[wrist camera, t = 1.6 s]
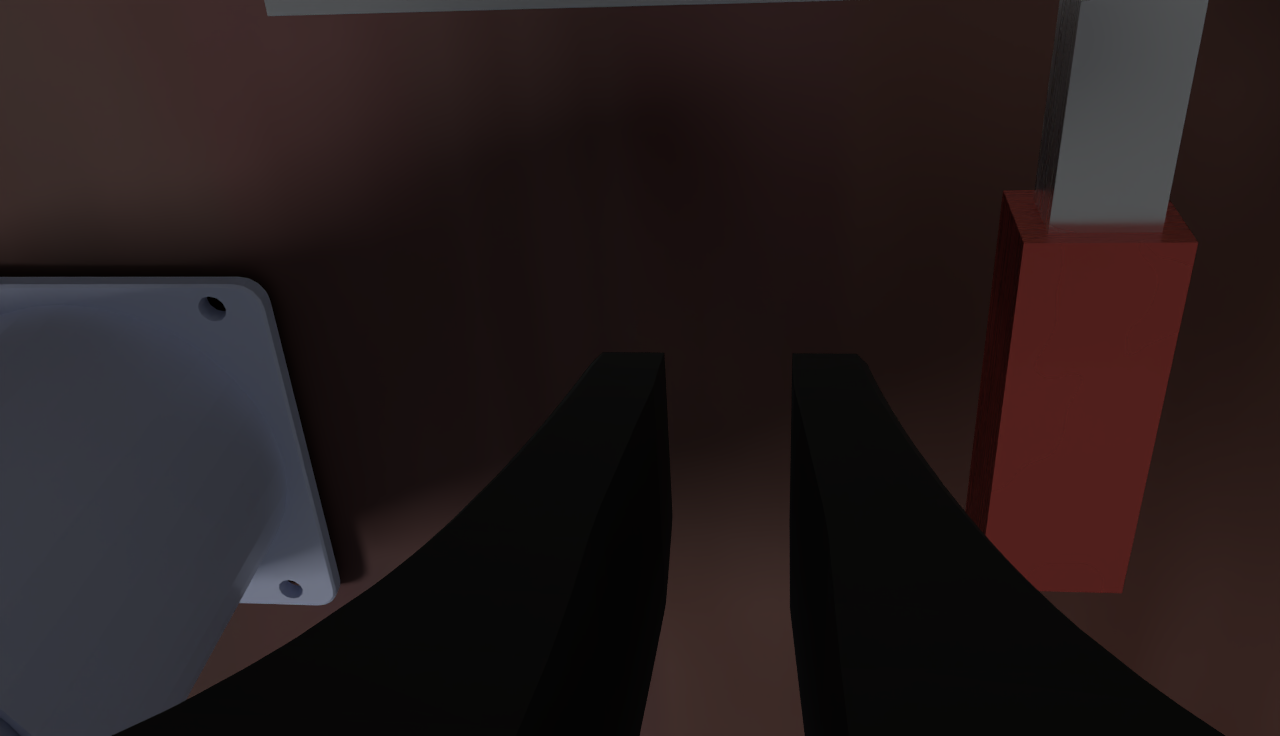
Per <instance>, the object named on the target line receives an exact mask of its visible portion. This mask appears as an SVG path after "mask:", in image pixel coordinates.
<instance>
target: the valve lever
mask: <svg viewBox="0 0 1280 736" xmlns="http://www.w3.org/2000/svg"><path fill="white" fill-rule="evenodd" d="M1208 1H1209V0H1060V2H1059V9H1058V17H1057V24H1056V32H1055V39H1054V47H1053V54H1052V62H1051V69H1050V77H1049V85H1048V92H1047V100H1046V107H1045V115H1044V122H1043V130H1042V137H1041V145H1040V152H1039V160H1038V167H1037V175H1036V182H1035V190H1009V191H1003V197H1002V205H1001V214H1000V222H999V231H998V239H997V248H996V256H995V265H994V273H993V281H992V290H991V298H990V307H989V315H988V324H987V332H986V341H985V349H984V358H983V366H982V375H981V383H980V392H979V400H978V409H977V417H976V426H975V434H974V443H973V451H972V460H971V468H970V477H969V485H968V494H967V502H966V511H965V512H966V513H967V514H968V516H969V517H970V518H971V519H972V520H973V522H974V523H975V524H976V525H977V526H978V527H979V529H980V530H981V531H982V532H983V533H984V534H985V536H986V537H987V538H988V539H989V540H990V541H991V542H992V543H993V545H994V546H995V547H996V548H997V549H998V550H999V551H1000V552H1001V553H1002V554H1003V555H1004V557H1005V558H1006V559H1007V560H1008V561H1009V562H1010V563H1011V564H1012V565H1013V566H1014V567H1015V568H1016V569H1017V570H1018V571H1019V572H1020V573H1021V574H1022V575H1023V576H1024V577H1025V578H1026V579H1027V580H1028V581H1029V582H1030V583H1031V584H1032V585H1033V586H1034V587H1035V588H1036V589H1037V590H1038V591H1061V592H1097V593H1122V591H1123V586H1124V581H1125V577H1126V572H1127V568H1128V563H1129V558H1130V554H1131V549H1132V545H1133V540H1134V536H1135V531H1136V526H1137V522H1138V517H1139V513H1140V508H1141V503H1142V499H1143V494H1144V490H1145V485H1146V480H1147V476H1148V471H1149V467H1150V462H1151V457H1152V453H1153V448H1154V444H1155V439H1156V434H1157V430H1158V425H1159V421H1160V416H1161V412H1162V407H1163V402H1164V398H1165V393H1166V389H1167V384H1168V379H1169V375H1170V370H1171V366H1172V361H1173V356H1174V352H1175V347H1176V343H1177V338H1178V333H1179V329H1180V324H1181V320H1182V315H1183V310H1184V306H1185V301H1186V297H1187V292H1188V288H1189V283H1190V278H1191V274H1192V269H1193V265H1194V260H1195V255H1196V251H1197V246H1198V241H1197V240H1196V238H1195V237H1194V235H1193V234H1192V232H1191V231H1190V229H1189V228H1188V226H1187V225H1186V223H1185V222H1184V220H1183V219H1182V218H1181V216H1180V215H1179V213H1178V212H1177V210H1176V209H1175V207H1174V206H1173V204H1172V203H1171V201H1170V200H1169V197H1170V192H1171V187H1172V182H1173V177H1174V172H1175V167H1176V162H1177V157H1178V152H1179V147H1180V142H1181V137H1182V132H1183V127H1184V122H1185V117H1186V112H1187V106H1188V101H1189V96H1190V91H1191V86H1192V81H1193V76H1194V71H1195V66H1196V61H1197V56H1198V51H1199V46H1200V41H1201V36H1202V31H1203V26H1204V21H1205V16H1206V11H1207V6H1208Z"/></svg>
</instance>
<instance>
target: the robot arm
mask: <svg viewBox="0 0 1280 736" xmlns="http://www.w3.org/2000/svg"><path fill="white" fill-rule="evenodd" d="M208 296H209V297H213V298H216V299H218V300H219V301H221V302H222V303H223V305H224V307H225V308H226V311H221V310H217V309H215V308H214V307H213V306H211V305H210V303H209V301H208V300H207V297H208ZM671 530H672V498H671V478H670V458H669V438H668V418H667V398H666V378H665V358H664V353H628V352H603V353H602V354H601V355H600V356H598V357H597V358H596V359H595V360H594V361H593V362H592V363H591V365H590V366H589V367H588V368H587V370H586V371H585V372H584V374H583V375H582V376H581V378H580V379H579V380H578V381H577V383H576V384H575V385H574V387H573V388H572V389H571V390H570V392H569V393H568V394H567V395H566V397H565V398H564V399H563V400H562V402H561V403H560V404H559V405H558V407H557V408H556V409H555V410H554V411H553V413H552V414H551V415H550V416H549V417H548V419H547V420H546V421H545V422H544V424H543V425H542V426H541V427H540V428H539V429H538V430H537V432H536V433H535V434H534V435H533V436H532V437H531V438H530V439H529V441H528V442H527V443H526V444H525V445H524V446H523V447H522V448H521V450H520V451H519V452H518V453H517V454H516V455H515V456H514V457H513V459H512V460H511V461H510V462H509V463H508V464H507V465H506V466H505V467H504V469H503V470H502V471H501V472H500V473H499V474H498V475H497V476H496V477H495V478H494V479H493V480H492V481H491V482H490V483H489V484H488V485H487V486H486V487H485V488H484V489H483V490H482V491H481V492H480V493H479V494H478V495H477V496H476V497H475V498H474V499H473V500H472V501H471V502H470V503H469V504H468V505H467V506H466V507H465V508H464V509H463V510H462V511H461V512H460V513H459V514H458V515H457V516H456V517H455V518H454V519H453V520H451V521H450V522H449V523H448V524H447V525H446V526H445V527H444V528H443V529H442V530H441V531H439V532H438V533H437V534H436V535H435V536H434V537H433V538H432V539H430V540H429V541H428V542H427V543H426V544H425V545H424V546H422V547H421V548H420V549H419V550H418V551H417V552H415V553H414V554H413V555H412V556H411V557H409V558H408V559H407V560H406V561H404V562H403V563H402V564H401V565H399V566H398V567H397V568H396V569H394V570H393V571H392V572H391V573H389V574H388V575H387V576H385V577H384V578H383V579H381V580H380V581H379V582H377V583H376V584H375V585H373V586H372V587H371V588H369V589H368V590H366V591H365V592H363V593H362V594H360V595H359V596H357V597H356V598H354V599H353V600H351V601H350V602H348V603H347V604H346V605H344V606H343V607H341V608H340V609H338V610H337V611H335V612H334V613H332V614H331V615H329V616H328V617H326V618H325V619H323V620H322V621H320V622H319V623H317V624H316V625H315V626H313V627H312V628H310V629H309V630H307V631H306V632H304V633H303V634H301V635H300V636H298V637H297V638H295V639H294V640H292V641H290V642H289V643H287V644H285V645H284V646H282V647H280V648H279V649H277V650H275V651H274V652H272V653H270V654H269V655H267V656H265V657H263V658H262V659H260V660H258V661H257V662H255V663H253V664H252V665H250V666H248V667H246V668H245V669H243V670H241V671H239V672H238V673H236V674H234V675H232V676H230V677H228V678H227V679H225V680H223V681H221V682H219V683H217V684H215V685H214V686H212V687H210V688H208V689H206V690H204V691H203V692H201V693H199V694H197V695H195V696H193V697H191V698H189V699H187V697H188V695H189V693H190V692H191V690H192V688H193V686H194V684H195V682H196V681H197V679H198V677H199V675H200V673H201V672H202V670H203V668H204V666H205V664H206V662H207V661H208V659H209V657H210V655H211V653H212V651H213V650H214V648H215V646H216V644H217V642H218V640H219V639H220V637H221V635H222V633H223V631H224V630H225V628H226V626H227V624H228V622H229V620H230V619H231V617H232V615H233V613H234V611H235V609H236V608H237V606H238V604H239V603H260V604H293V605H325V604H328V603H329V602H331V601H333V599H334V598H335V596H336V594H337V592H338V590H339V587H340V577H339V573H338V569H337V565H336V561H335V557H334V553H333V549H332V545H331V541H330V537H329V533H328V529H327V525H326V521H325V517H324V513H323V509H322V505H321V501H320V497H319V493H318V489H317V485H316V481H315V477H314V473H313V469H312V465H311V461H310V457H309V453H308V449H307V445H306V441H305V437H304V433H303V429H302V425H301V421H300V417H299V413H298V409H297V405H296V401H295V397H294V393H293V389H292V385H291V381H290V377H289V373H288V369H287V365H286V361H285V357H284V353H283V349H282V345H281V341H280V337H279V333H278V329H277V325H276V321H275V317H274V313H273V309H272V305H271V301H270V298H269V296H268V294H267V292H266V291H265V290H264V289H263V288H262V286H261V285H260V284H259V283H257V282H255V281H253V280H251V279H249V278H244V277H0V736H639V735H640V730H641V725H642V721H643V716H644V711H645V706H646V701H647V696H648V691H649V686H650V681H651V676H652V671H653V666H654V661H655V656H656V651H657V646H658V641H659V636H660V631H661V626H662V621H663V616H664V610H665V605H666V595H667V583H668V570H669V557H670V544H671ZM288 580H291V581H295V582H296V583H298V584H299V585H300V586H298V585H293V584H292V583H290V582H289V581H288ZM790 611H791V620H792V629H793V638H794V647H795V655H796V664H797V673H798V681H799V690H800V698H801V707H802V715H803V724H804V732H805V736H1225V735H1223V734H1222V733H1220V732H1219V731H1217V730H1216V729H1214V728H1213V727H1211V726H1210V725H1208V724H1207V723H1205V722H1204V721H1202V720H1201V719H1199V718H1198V717H1196V716H1195V715H1193V714H1192V713H1190V712H1189V711H1187V710H1186V709H1184V708H1183V707H1181V706H1180V705H1178V704H1177V703H1176V702H1174V701H1173V700H1172V699H1170V698H1169V697H1167V696H1166V695H1165V694H1163V693H1162V692H1160V691H1159V690H1158V689H1156V688H1155V687H1154V686H1152V685H1151V684H1149V683H1148V682H1147V681H1145V680H1144V679H1143V678H1141V677H1140V676H1139V675H1138V674H1136V673H1135V672H1134V671H1132V670H1131V669H1130V668H1129V667H1127V666H1126V665H1125V664H1124V663H1122V662H1121V661H1120V660H1119V659H1117V658H1116V657H1115V656H1114V655H1112V654H1111V653H1110V652H1108V651H1107V650H1106V649H1105V648H1103V647H1102V646H1101V645H1100V644H1098V643H1097V642H1096V641H1095V640H1093V639H1092V638H1091V637H1090V636H1088V635H1087V634H1086V633H1084V632H1083V631H1082V630H1081V629H1079V628H1078V627H1077V626H1076V625H1075V624H1074V623H1073V622H1072V621H1070V620H1069V619H1068V618H1067V617H1066V616H1065V615H1064V614H1063V613H1061V612H1060V611H1059V610H1058V609H1057V608H1056V607H1055V606H1054V605H1053V604H1052V603H1051V602H1049V601H1048V600H1047V599H1046V598H1045V597H1044V596H1043V595H1042V594H1041V593H1040V592H1039V591H1038V590H1037V589H1036V588H1035V587H1034V586H1033V585H1032V584H1031V583H1030V582H1029V581H1028V580H1027V579H1026V578H1025V577H1024V576H1023V575H1022V574H1021V573H1020V572H1019V571H1018V570H1017V569H1016V568H1015V567H1014V566H1013V565H1012V564H1011V563H1010V562H1009V561H1008V560H1007V559H1006V558H1005V557H1004V555H1003V554H1002V553H1001V552H1000V551H999V550H998V549H997V548H996V547H995V546H994V545H993V543H992V542H991V541H990V540H989V539H988V538H987V537H986V536H985V534H984V533H983V532H982V531H981V530H980V529H979V527H978V526H977V525H976V524H975V523H974V522H973V520H972V519H971V518H970V517H969V516H968V514H967V513H966V512H965V511H964V510H963V509H962V507H961V506H960V505H959V504H958V502H957V501H956V500H955V499H954V497H953V496H952V495H951V494H950V492H949V491H948V490H947V489H946V487H945V486H944V485H943V483H942V482H941V481H940V479H939V478H938V477H937V475H936V474H935V472H934V471H933V470H932V468H931V467H930V466H929V464H928V463H927V462H926V460H925V459H924V457H923V456H922V455H921V453H920V452H919V451H918V449H917V448H916V446H915V445H914V443H913V442H912V441H911V439H910V438H909V436H908V435H907V433H906V432H905V430H904V429H903V427H902V425H901V424H900V422H899V421H898V419H897V417H896V416H895V414H894V413H893V411H892V410H891V408H890V406H889V405H888V403H887V401H886V399H885V398H884V396H883V394H882V392H881V391H880V389H879V387H878V385H877V383H876V381H875V379H874V377H873V375H872V373H871V371H870V369H869V367H868V365H867V364H866V363H865V362H864V361H863V360H862V359H861V358H860V357H859V356H858V355H857V354H795V353H793V357H792V415H791V472H790ZM186 699H187V700H186Z"/></svg>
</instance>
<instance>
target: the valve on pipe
mask: <svg viewBox="0 0 1280 736" xmlns="http://www.w3.org/2000/svg"><path fill="white" fill-rule="evenodd" d="M264 1H265V6H266V10H267V15H268V16H287V15H324V14H361V13H398V12H435V11H472V10H509V9H546V8H582V7H619V6H656V5H693V4H730V3H767V2H804V1H841V0H264Z"/></svg>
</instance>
